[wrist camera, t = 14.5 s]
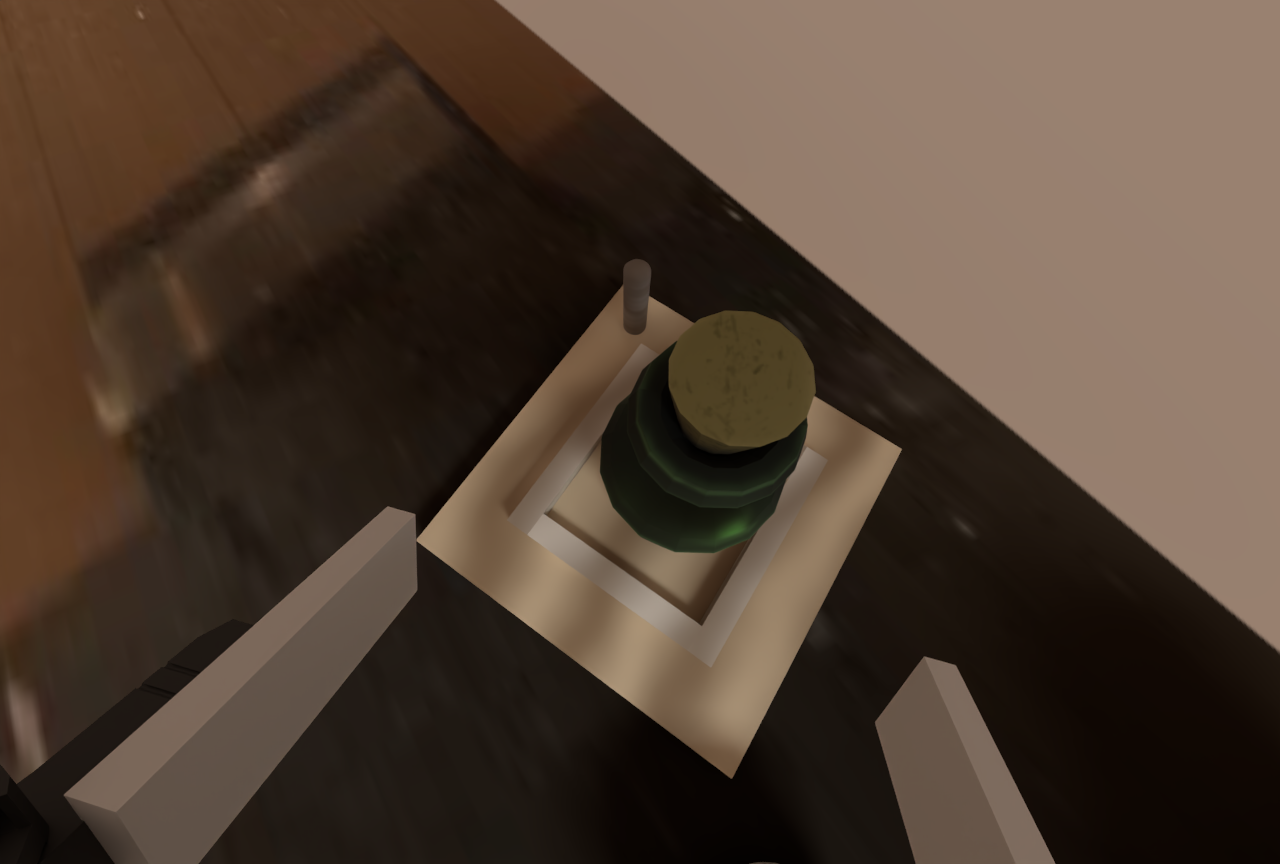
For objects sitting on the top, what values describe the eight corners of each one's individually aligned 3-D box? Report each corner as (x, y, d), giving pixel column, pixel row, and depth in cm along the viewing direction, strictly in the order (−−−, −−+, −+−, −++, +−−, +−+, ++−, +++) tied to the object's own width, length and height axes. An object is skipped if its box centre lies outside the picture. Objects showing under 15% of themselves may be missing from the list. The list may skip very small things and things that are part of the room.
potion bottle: (724, 575, 28) (890, 574, 11) (591, 544, 28) (542, 493, 11) (745, 447, 30) (907, 277, 13) (623, 419, 30) (623, 216, 13)
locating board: (889, 455, 32) (966, 419, 25) (725, 767, 26) (764, 840, 19) (625, 293, 35) (626, 221, 28) (425, 542, 29) (361, 531, 22)
